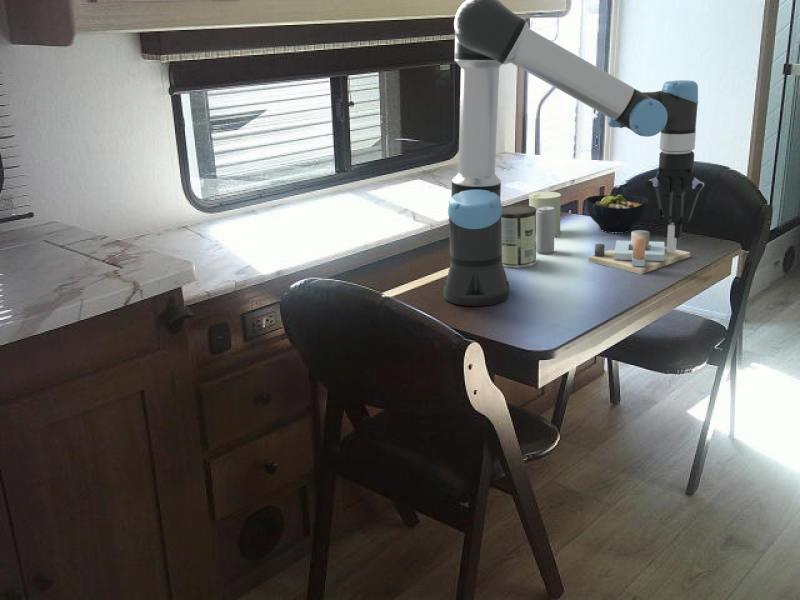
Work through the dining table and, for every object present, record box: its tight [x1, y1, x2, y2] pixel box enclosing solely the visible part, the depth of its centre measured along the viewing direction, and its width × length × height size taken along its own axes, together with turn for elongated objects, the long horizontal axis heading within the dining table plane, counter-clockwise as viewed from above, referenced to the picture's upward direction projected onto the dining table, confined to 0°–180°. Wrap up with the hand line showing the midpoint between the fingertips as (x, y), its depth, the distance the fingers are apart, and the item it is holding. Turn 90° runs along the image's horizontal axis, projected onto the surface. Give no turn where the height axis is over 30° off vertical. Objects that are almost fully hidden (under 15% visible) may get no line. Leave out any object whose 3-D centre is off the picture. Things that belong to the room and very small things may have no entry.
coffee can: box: [501, 204, 537, 269], centre depth 204 cm, size 10×10×14 cm
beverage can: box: [536, 206, 555, 255], centre depth 211 cm, size 5×5×12 cm
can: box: [528, 191, 562, 238], centre depth 229 cm, size 9×9×12 cm
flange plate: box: [614, 237, 665, 266], centre depth 199 cm, size 17×12×7 cm
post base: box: [588, 229, 691, 275], centre depth 202 cm, size 20×16×7 cm
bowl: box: [585, 194, 649, 234], centre depth 230 cm, size 17×17×10 cm
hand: (671, 250), depth 189 cm, fingers closed
